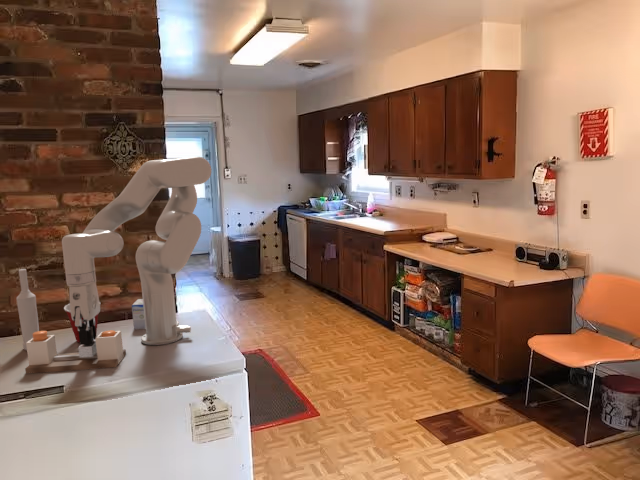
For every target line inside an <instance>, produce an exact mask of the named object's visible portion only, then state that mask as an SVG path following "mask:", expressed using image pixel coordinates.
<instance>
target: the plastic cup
mask: <svg viewBox="0 0 640 480" xmlns="http://www.w3.org/2000/svg"><path fill="white" fill-rule="evenodd" d="M100 305H101V302H100ZM63 310H64V311H65V312H66V315H67V317H68V319H69V322H70V326H71V329H72V333H73V335H74V338H75V340H76V342H77V343H79V344H80V340H79V332H78V327H76V326H75V321H73V320H72V317H71V310H70V303H68V304H65V305H64V307H63ZM98 317H99V313H98V314H97V315H96V316H95V325H93V326H95V327H96V335H97V334H98V333H97V331H98V330H97V329H98V322H99V321H98V319H99V318H98ZM82 319H83V318H82ZM82 323H84V322H82Z"/></svg>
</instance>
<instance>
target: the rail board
mask: <svg viewBox="0 0 640 480" xmlns="http://www.w3.org/2000/svg"><path fill="white" fill-rule="evenodd" d="M122 354H124V357H125V356H126V355H127V352H126V349H124V348H123V353H122ZM124 357H122V358H123V359H124ZM123 359H121V361H122V360H123ZM119 360H120V359H119ZM118 365H119V364H118V359H111V360H98V357H97V353H96V354H95V355H94V356H93V357H81V358H79V352H70V353H57V356H55V357H54V360H53V361H52V362H51V363H50V364H40V365H29V364H28V365H27V366H26V367H25V368H24V369H25V374H39V373H42V374H43V373H54V372H57V373H58V372H67V371H69V372H70V371H81V370H83V371H84V370H96V369H97V370H98V369H112V368H116V367H118Z"/></svg>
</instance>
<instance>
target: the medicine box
mask: <svg viewBox="0 0 640 480" xmlns="http://www.w3.org/2000/svg"><path fill="white" fill-rule="evenodd" d="M131 314H132V324H133V329H134V330H146V327H145V317H144V307H143V298H137V300H135V301H134V302H133V304H131Z"/></svg>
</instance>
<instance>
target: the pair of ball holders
mask: <svg viewBox="0 0 640 480" xmlns="http://www.w3.org/2000/svg"><path fill="white" fill-rule="evenodd" d="M114 331H115V335H114V336H110V337H102V335H101V333H102V332H103V331H101V332H100V333H99V334H98V335H96V336H97V337H96V338H95V339H96V348H97V357H98V360H111V359H118V365H119V364H120V362H121V361H122V360H123V359H124V358H125V356H124V354H122V353H123V350H124V348H123V347H124V346H123V337H122V330H114ZM47 336H48V339H47V340H44V341H36V342H34V341H33V338H32V339H31V340H29V341H28V342H27V343H26V346H27V350H26V351H27V360H28V366H29V365H40V364H50V363H51V362H52V361H53V360H54V357H55V356H57V354H58V352H57V343H56V337H55V334H51V335H48V334H47ZM122 357H123V358H122ZM119 359H120V360H119ZM121 359H122V360H121Z"/></svg>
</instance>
